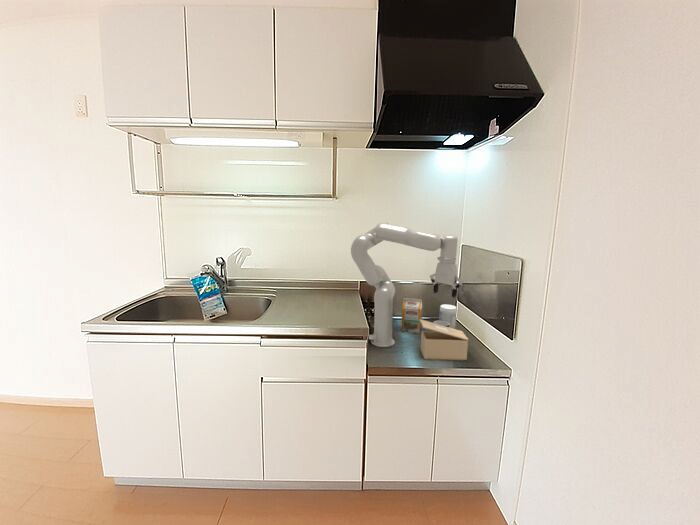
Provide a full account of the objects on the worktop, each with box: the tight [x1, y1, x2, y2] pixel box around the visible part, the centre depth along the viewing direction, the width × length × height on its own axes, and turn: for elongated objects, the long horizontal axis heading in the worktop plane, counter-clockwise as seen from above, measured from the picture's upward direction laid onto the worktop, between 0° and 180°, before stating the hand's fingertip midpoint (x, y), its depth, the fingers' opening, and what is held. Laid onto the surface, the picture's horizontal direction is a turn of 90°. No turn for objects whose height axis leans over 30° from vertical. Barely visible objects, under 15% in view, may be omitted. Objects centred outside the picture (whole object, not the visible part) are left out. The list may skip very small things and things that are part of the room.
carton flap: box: [420, 319, 469, 341], centre depth 166 cm, size 22×11×1 cm, turn 87°
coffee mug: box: [432, 320, 450, 332], centre depth 187 cm, size 12×9×10 cm
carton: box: [420, 330, 469, 361], centre depth 167 cm, size 20×11×10 cm, turn 87°
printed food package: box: [400, 297, 423, 335], centre depth 201 cm, size 11×11×19 cm
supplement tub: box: [438, 303, 457, 329], centre depth 201 cm, size 10×10×15 cm
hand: (444, 294), depth 170 cm, fingers open, 9 cm apart
